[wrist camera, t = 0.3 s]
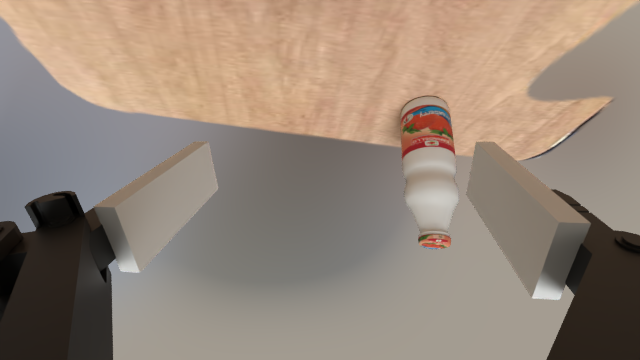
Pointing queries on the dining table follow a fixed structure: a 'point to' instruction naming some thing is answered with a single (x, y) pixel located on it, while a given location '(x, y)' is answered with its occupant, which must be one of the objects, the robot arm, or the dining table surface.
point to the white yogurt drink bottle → (429, 168)
